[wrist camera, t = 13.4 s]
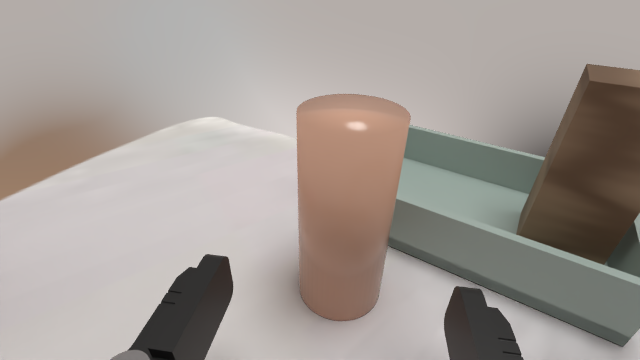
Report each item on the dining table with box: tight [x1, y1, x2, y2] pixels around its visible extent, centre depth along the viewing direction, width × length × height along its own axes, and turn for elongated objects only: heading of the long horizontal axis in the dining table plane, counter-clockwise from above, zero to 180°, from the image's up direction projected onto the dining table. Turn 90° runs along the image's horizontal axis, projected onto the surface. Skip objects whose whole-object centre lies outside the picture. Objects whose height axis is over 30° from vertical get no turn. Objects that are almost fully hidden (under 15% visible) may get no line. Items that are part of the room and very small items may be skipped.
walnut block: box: [516, 64, 640, 265], centre depth 19 cm, size 4×4×11 cm
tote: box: [388, 125, 640, 346], centre depth 24 cm, size 19×12×4 cm, turn 57°
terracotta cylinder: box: [297, 94, 410, 321], centre depth 17 cm, size 5×5×11 cm
